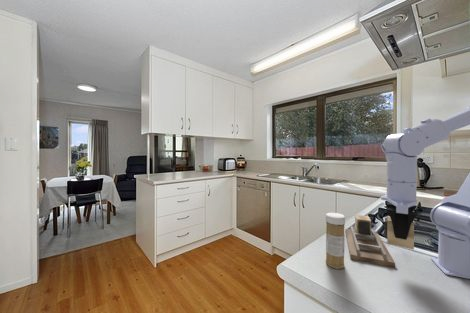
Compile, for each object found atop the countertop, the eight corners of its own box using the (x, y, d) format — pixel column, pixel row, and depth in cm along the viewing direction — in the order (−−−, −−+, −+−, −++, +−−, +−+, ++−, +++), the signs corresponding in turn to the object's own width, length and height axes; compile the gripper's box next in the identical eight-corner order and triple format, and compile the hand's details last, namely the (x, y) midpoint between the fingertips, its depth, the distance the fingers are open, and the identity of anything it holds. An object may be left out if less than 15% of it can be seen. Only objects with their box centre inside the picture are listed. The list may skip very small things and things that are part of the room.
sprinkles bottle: (330, 258, 56) (330, 210, 56) (347, 265, 53) (348, 214, 52) (322, 264, 53) (322, 214, 53) (340, 272, 50) (340, 218, 50)
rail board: (377, 236, 70) (378, 216, 69) (394, 267, 52) (395, 239, 51) (345, 232, 74) (345, 212, 74) (350, 258, 56) (350, 233, 56)
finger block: (384, 237, 54) (384, 215, 54) (412, 243, 50) (412, 219, 50) (384, 243, 51) (384, 219, 50) (413, 249, 47) (414, 224, 47)
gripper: (382, 176, 58) (381, 223, 58) (380, 183, 47) (379, 241, 47) (414, 178, 54) (413, 228, 54) (421, 186, 42) (420, 250, 43)
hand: (400, 234), depth 50 cm, fingers closed on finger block, 4 cm apart
